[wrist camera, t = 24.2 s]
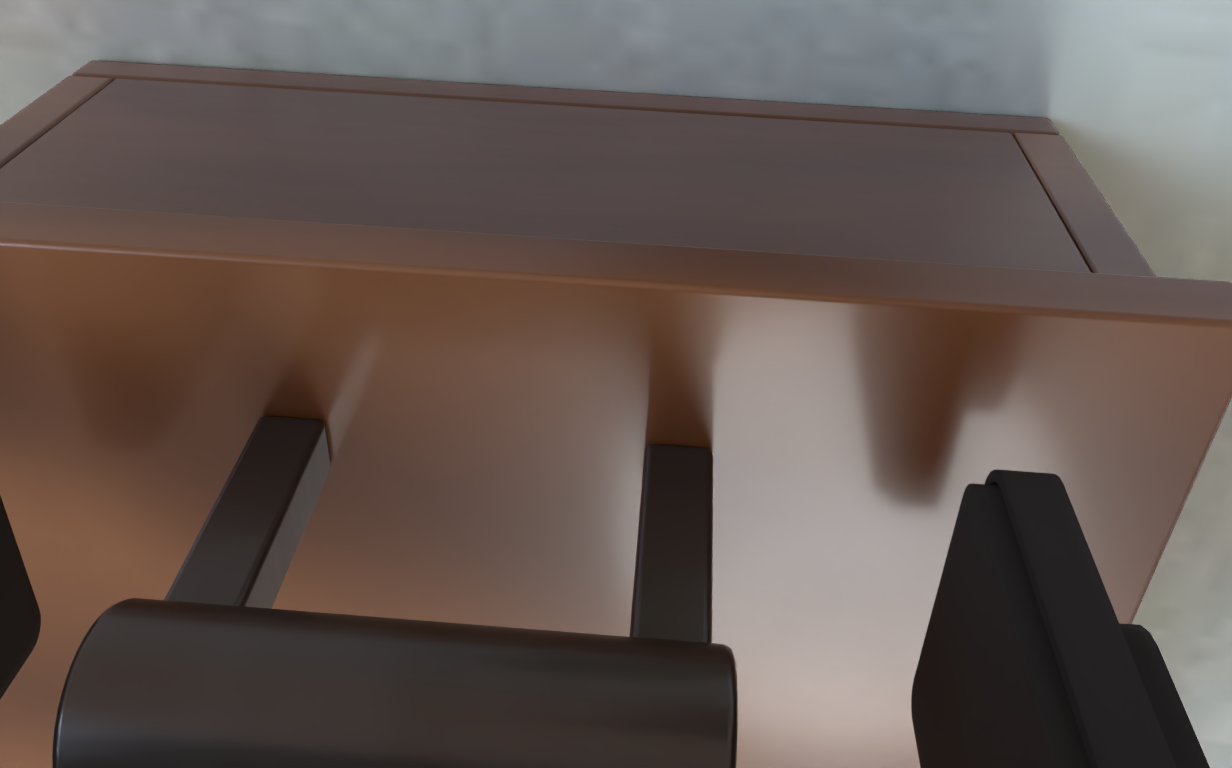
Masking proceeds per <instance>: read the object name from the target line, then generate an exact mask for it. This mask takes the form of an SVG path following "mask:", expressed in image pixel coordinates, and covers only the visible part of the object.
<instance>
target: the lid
mask: <svg viewBox="0 0 1232 768" xmlns="http://www.w3.org/2000/svg"><path fill="white" fill-rule="evenodd" d="M1231 398H1232V283H1230V282H1224V281H1208V280H1193V279H1178V278H1162V277H1147V276H1132V275H1116V274H1101V273H1086V272H1070V271H1055V270H1040V269H1024V268H1009V267H994V266H978V265H963V264H948V263H932V262H917V261H902V260H886V259H871V258H856V257H840V256H825V255H810V254H794V253H779V252H764V251H748V250H733V249H718V248H702V247H687V246H672V245H656V244H641V243H626V242H610V241H595V240H580V239H564V238H549V237H534V236H518V235H503V234H488V233H472V232H457V231H442V230H426V229H411V228H396V227H380V226H365V225H350V224H334V223H319V222H304V221H288V220H273V219H258V218H242V217H227V216H212V215H196V214H181V213H166V212H150V211H135V210H120V209H104V208H89V207H74V206H58V205H43V204H28V203H12V202H0V496H1V498H2V501H3V504H4V507H5V510H6V513H7V516H8V519H9V522H10V525H11V528H12V531H13V533H14V536H15V539H16V542H17V545H18V548H19V551H20V554H21V557H22V560H23V563H24V565H25V568H26V571H27V574H28V577H29V580H30V583H31V586H32V589H33V592H34V595H35V597H36V600H37V603H38V606H39V609H40V614H41V627H40V633H39V637H38V640H37V643H36V645H35V647H34V649H33V651H32V652H31V654H30V655H29V657H28V658H27V660H26V661H25V663H24V664H23V666H22V667H21V669H20V670H19V672H18V674H17V675H16V677H15V678H14V680H13V681H12V683H11V684H10V686H9V687H8V689H7V690H6V692H5V693H4V695H3V696H2V698H1V699H0V768H921V767H920V761H919V756H918V750H917V744H916V739H915V733H914V728H913V721H912V711H911V695H912V686H913V681H914V677H915V673H916V669H917V665H918V662H919V658H920V654H921V650H922V647H923V643H924V639H925V635H926V632H927V628H928V624H929V620H930V617H931V613H932V609H933V605H934V602H935V598H936V594H937V590H938V587H939V583H940V579H941V575H942V572H943V568H944V564H945V560H946V557H947V553H948V549H949V545H950V542H951V538H952V534H953V530H954V527H955V523H956V519H957V516H958V512H959V508H960V504H961V501H962V497H963V494H964V491H965V488H966V487H967V485H968V484H971V483H972V484H985V481H986V478H987V476H988V475H989V473H990V472H991V471H993V470H995V469H997V470H1010V471H1024V472H1038V473H1052V474H1056V475H1057V476H1059V477H1060V479H1061V480H1062V482H1063V484H1064V486H1065V489H1066V491H1067V494H1068V496H1069V499H1070V501H1071V504H1072V506H1073V509H1074V511H1075V514H1076V516H1077V519H1078V521H1079V524H1080V526H1081V529H1082V531H1083V534H1084V536H1085V539H1086V541H1087V544H1088V546H1089V549H1090V551H1091V554H1092V556H1093V559H1094V561H1095V564H1096V566H1097V569H1098V571H1099V574H1100V576H1101V579H1102V581H1103V584H1104V586H1105V589H1106V591H1107V594H1108V596H1109V599H1110V601H1111V604H1112V606H1113V609H1114V611H1115V614H1116V617H1117V619H1118V622H1119V623H1120V624H1131V623H1132V621H1133V619H1134V617H1135V614H1136V612H1137V610H1138V608H1139V605H1140V603H1141V601H1142V598H1143V596H1144V594H1145V592H1146V589H1147V587H1148V585H1149V583H1150V580H1151V578H1152V576H1153V574H1154V571H1155V569H1156V567H1157V565H1158V562H1159V560H1160V558H1161V556H1162V553H1163V551H1164V549H1165V547H1166V544H1167V542H1168V540H1169V538H1170V535H1171V533H1172V531H1173V529H1174V526H1175V524H1176V522H1177V520H1178V517H1179V515H1180V513H1181V511H1182V508H1183V506H1184V504H1185V502H1186V499H1187V497H1188V495H1189V493H1190V490H1191V488H1192V486H1193V484H1194V481H1195V479H1196V477H1197V475H1198V472H1199V470H1200V468H1201V466H1202V463H1203V461H1204V459H1205V457H1206V454H1207V452H1208V450H1209V448H1210V445H1211V443H1212V441H1213V438H1214V436H1215V434H1216V432H1217V429H1218V427H1219V425H1220V423H1221V420H1222V418H1223V416H1224V414H1225V411H1226V409H1227V407H1228V405H1229V402H1230V400H1231Z"/></svg>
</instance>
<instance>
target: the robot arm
mask: <svg viewBox="0 0 1232 768" xmlns="http://www.w3.org/2000/svg"><path fill="white" fill-rule="evenodd" d="M40 627H41V614H40V609H39V606H38V603H37V600H36V597H35V595H34V592H33V589H32V586H31V583H30V580H29V577H28V574H27V571H26V568H25V565H24V563H23V560H22V557H21V554H20V551H19V548H18V545H17V542H16V539H15V536H14V533H13V531H12V528H11V525H10V522H9V519H8V516H7V513H6V510H5V507H4V504H3V501H2V498H1V496H0V699H1V698H2V696H3V695H4V693H5V692H6V690H7V689H8V687H9V686H10V684H11V683H12V681H13V680H14V678H15V677H16V675H17V674H18V672H19V670H20V669H21V667H22V666H23V664H24V663H25V661H26V660H27V658H28V657H29V655H30V654H31V652H32V651H33V649H34V647H35V645H36V643H37V640H38V637H39V633H40ZM911 711H912V721H913V728H914V733H915V739H916V744H917V750H918V756H919V761H920V767H921V768H1210V767H1209V765H1208V763H1207V760H1206V758H1205V756H1204V753H1203V751H1202V749H1201V746H1200V744H1199V742H1198V739H1197V737H1196V735H1195V732H1194V730H1193V728H1192V725H1191V723H1190V721H1189V718H1188V716H1187V714H1186V711H1185V709H1184V707H1183V704H1182V702H1181V700H1180V697H1179V695H1178V692H1177V690H1176V688H1175V685H1174V683H1173V681H1172V678H1171V676H1170V674H1169V671H1168V669H1167V667H1166V664H1165V662H1164V660H1163V657H1162V655H1161V653H1160V650H1159V648H1158V646H1157V644H1156V643H1155V641H1154V639H1153V637H1152V636H1151V634H1150V632H1148V631H1147V630H1146V629H1145V628H1143V627H1142V626H1141V625H1133V624H1120V623H1119V622H1118V619H1117V617H1116V614H1115V611H1114V609H1113V606H1112V604H1111V601H1110V599H1109V596H1108V594H1107V591H1106V589H1105V586H1104V584H1103V581H1102V579H1101V576H1100V574H1099V571H1098V569H1097V566H1096V564H1095V561H1094V559H1093V556H1092V554H1091V551H1090V549H1089V546H1088V544H1087V541H1086V539H1085V536H1084V534H1083V531H1082V529H1081V526H1080V524H1079V521H1078V519H1077V516H1076V514H1075V511H1074V509H1073V506H1072V504H1071V501H1070V499H1069V496H1068V494H1067V491H1066V489H1065V486H1064V484H1063V482H1062V480H1061V479H1060V477H1059V476H1057V475H1056V474H1052V473H1038V472H1024V471H1010V470H997V469H995V470H993V471H991V472H990V473H989V475H988V476H987V478H986V481H985V484H972V483H971V484H968V485H967V487H966V488H965V491H964V494H963V497H962V501H961V504H960V508H959V512H958V516H957V519H956V523H955V527H954V530H953V534H952V538H951V542H950V545H949V549H948V553H947V557H946V560H945V564H944V568H943V572H942V575H941V579H940V583H939V587H938V590H937V594H936V598H935V602H934V605H933V609H932V613H931V617H930V620H929V624H928V628H927V632H926V635H925V639H924V643H923V647H922V650H921V654H920V658H919V662H918V665H917V669H916V673H915V677H914V681H913V686H912V695H911Z"/></svg>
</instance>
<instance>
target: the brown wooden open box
mask: <svg viewBox="0 0 1232 768" xmlns="http://www.w3.org/2000/svg"><path fill="white" fill-rule="evenodd" d="M0 202H12V203H28V204H43V205H58V206H74V207H89V208H104V209H120V210H135V211H150V212H166V213H181V214H196V215H212V216H227V217H242V218H258V219H273V220H288V221H304V222H319V223H334V224H350V225H365V226H380V227H396V228H411V229H426V230H442V231H457V232H472V233H488V234H503V235H518V236H534V237H549V238H564V239H580V240H595V241H610V242H626V243H641V244H656V245H672V246H687V247H702V248H718V249H733V250H748V251H764V252H779V253H794V254H810V255H825V256H840V257H856V258H871V259H886V260H902V261H917V262H932V263H948V264H963V265H978V266H994V267H1009V268H1024V269H1040V270H1055V271H1070V272H1086V273H1101V274H1116V275H1132V276H1147V277H1156V276H1155V274H1154V273H1153V271H1152V270H1151V268H1150V267H1149V265H1148V264H1147V262H1146V261H1145V259H1144V258H1143V256H1142V255H1141V253H1140V252H1139V250H1138V249H1137V247H1136V246H1135V244H1134V243H1133V241H1132V240H1131V238H1130V237H1129V235H1128V234H1127V232H1126V231H1125V229H1124V228H1123V226H1122V225H1121V223H1120V222H1119V220H1118V219H1117V217H1116V216H1115V214H1114V213H1113V211H1112V210H1111V208H1110V207H1109V205H1108V204H1107V202H1106V201H1105V199H1104V198H1103V196H1102V195H1101V193H1100V192H1099V190H1098V189H1097V187H1096V186H1095V184H1094V183H1093V181H1092V180H1091V178H1090V177H1089V175H1088V174H1087V172H1086V171H1085V169H1084V168H1083V166H1082V165H1081V163H1080V162H1079V160H1078V159H1077V157H1076V156H1075V154H1074V153H1073V151H1072V150H1071V148H1070V147H1069V145H1068V144H1067V142H1066V141H1065V139H1064V138H1063V136H1061V135H1059V132H1058V131H1057V129H1056V128H1055V126H1054V125H1053V123H1052V122H1051V120H1049V119H1047V118H1038V117H1021V116H1005V115H988V114H972V113H955V112H938V111H922V110H905V109H889V108H872V107H855V106H839V105H822V104H805V103H789V102H772V101H756V100H739V99H722V98H706V97H689V96H672V95H656V94H639V93H623V92H606V91H589V90H573V89H556V88H539V87H523V86H506V85H490V84H473V83H456V82H440V81H423V80H406V79H390V78H373V77H357V76H340V75H323V74H307V73H290V72H274V71H257V70H240V69H224V68H207V67H190V66H174V65H157V64H141V63H124V62H107V61H90V62H88V63H87V64H86V65H84V66H83V67H81V68H80V69H79V70H77V71H76V72H74V73H73V75H72V76H69V77H67V78H66V79H64V80H63V81H61V82H60V83H59V84H57V85H56V86H54V87H53V88H52V89H50V90H49V91H47V92H46V93H45V94H43V95H42V96H40V97H39V98H38V99H36V100H35V101H33V102H32V103H31V104H29V105H28V106H26V107H25V108H24V109H22V110H21V111H19V112H18V113H17V114H15V115H14V116H12V117H11V118H10V119H8V120H7V121H5V122H4V123H3V124H1V125H0Z"/></svg>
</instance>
